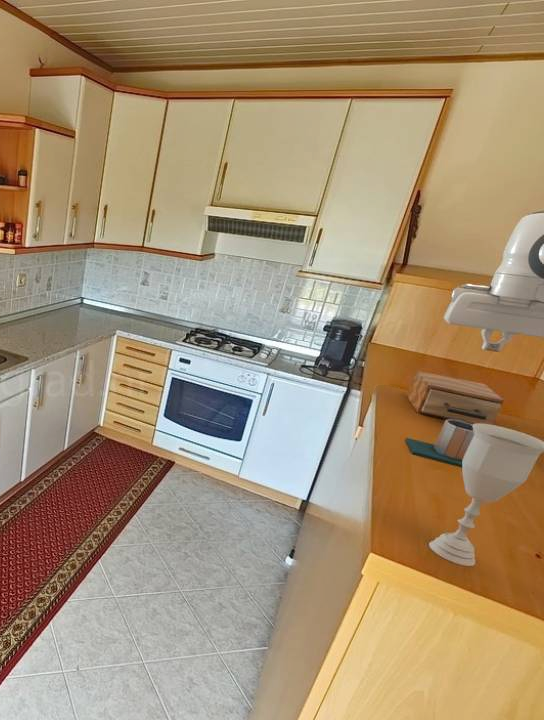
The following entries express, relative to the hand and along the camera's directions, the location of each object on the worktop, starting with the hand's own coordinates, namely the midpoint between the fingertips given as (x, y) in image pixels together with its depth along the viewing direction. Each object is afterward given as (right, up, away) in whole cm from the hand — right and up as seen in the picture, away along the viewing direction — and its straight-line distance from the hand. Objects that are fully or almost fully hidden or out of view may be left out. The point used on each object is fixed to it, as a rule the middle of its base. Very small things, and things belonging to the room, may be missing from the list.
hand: (490, 350), depth 110 cm
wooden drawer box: (+1, -15, +11) cm, 19 cm away
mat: (-20, -22, -12) cm, 32 cm away
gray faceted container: (-20, -22, -12) cm, 32 cm away
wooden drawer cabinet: (+3, -15, +15) cm, 22 cm away
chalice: (-46, -31, -43) cm, 71 cm away
